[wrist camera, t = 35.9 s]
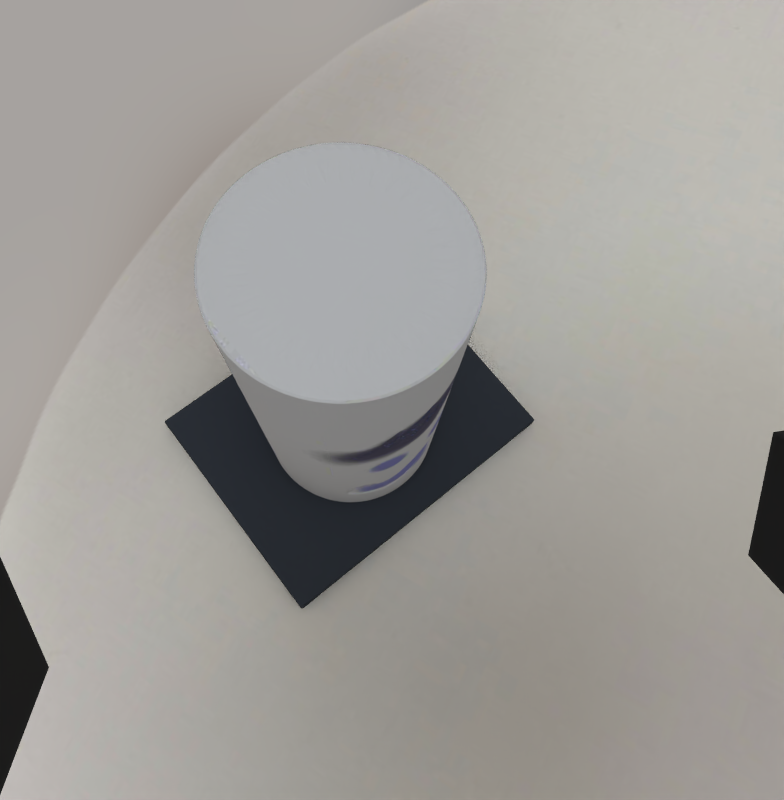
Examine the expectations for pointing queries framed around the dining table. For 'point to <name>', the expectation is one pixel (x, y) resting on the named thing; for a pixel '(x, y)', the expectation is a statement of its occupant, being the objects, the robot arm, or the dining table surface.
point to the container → (342, 308)
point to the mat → (326, 519)
